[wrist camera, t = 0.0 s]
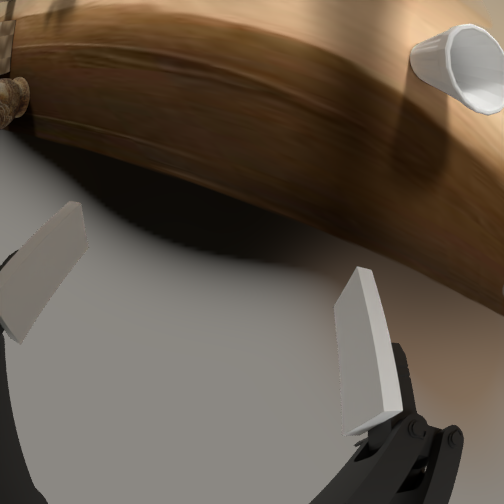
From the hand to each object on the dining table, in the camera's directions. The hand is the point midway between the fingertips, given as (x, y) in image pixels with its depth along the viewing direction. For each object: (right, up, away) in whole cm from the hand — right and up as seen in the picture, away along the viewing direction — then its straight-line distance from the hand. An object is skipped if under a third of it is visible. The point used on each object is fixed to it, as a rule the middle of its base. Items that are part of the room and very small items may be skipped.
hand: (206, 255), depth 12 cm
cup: (+26, +26, +12) cm, 38 cm away
